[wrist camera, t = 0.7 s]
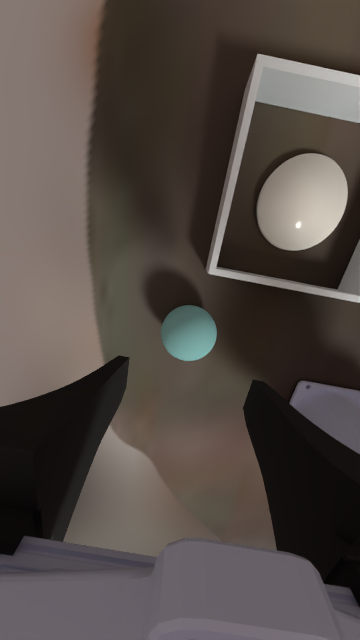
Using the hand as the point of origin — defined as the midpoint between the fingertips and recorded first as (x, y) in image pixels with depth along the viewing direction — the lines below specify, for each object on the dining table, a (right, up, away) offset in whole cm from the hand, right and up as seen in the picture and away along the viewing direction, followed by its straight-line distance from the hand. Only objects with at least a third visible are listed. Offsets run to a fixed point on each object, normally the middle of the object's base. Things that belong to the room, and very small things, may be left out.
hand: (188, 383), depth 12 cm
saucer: (+9, +13, +5) cm, 17 cm away
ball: (0, +3, +9) cm, 10 cm away
